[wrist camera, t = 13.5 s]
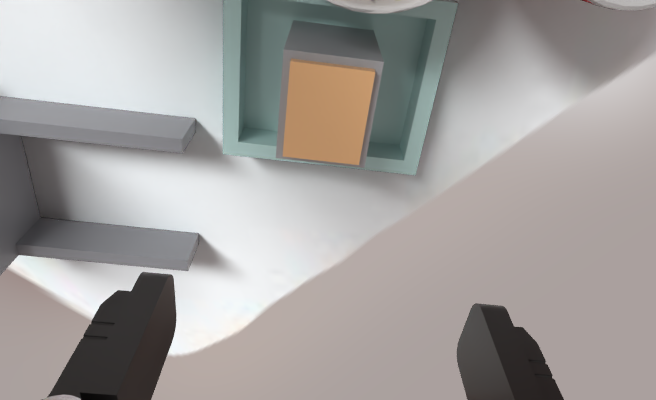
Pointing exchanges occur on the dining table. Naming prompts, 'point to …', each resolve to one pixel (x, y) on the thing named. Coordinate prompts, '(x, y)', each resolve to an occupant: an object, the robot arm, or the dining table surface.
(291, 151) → the grey block tan panel
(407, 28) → the tray
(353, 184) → the dining table surface
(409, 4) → the coffee mug
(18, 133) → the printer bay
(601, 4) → the canned food
